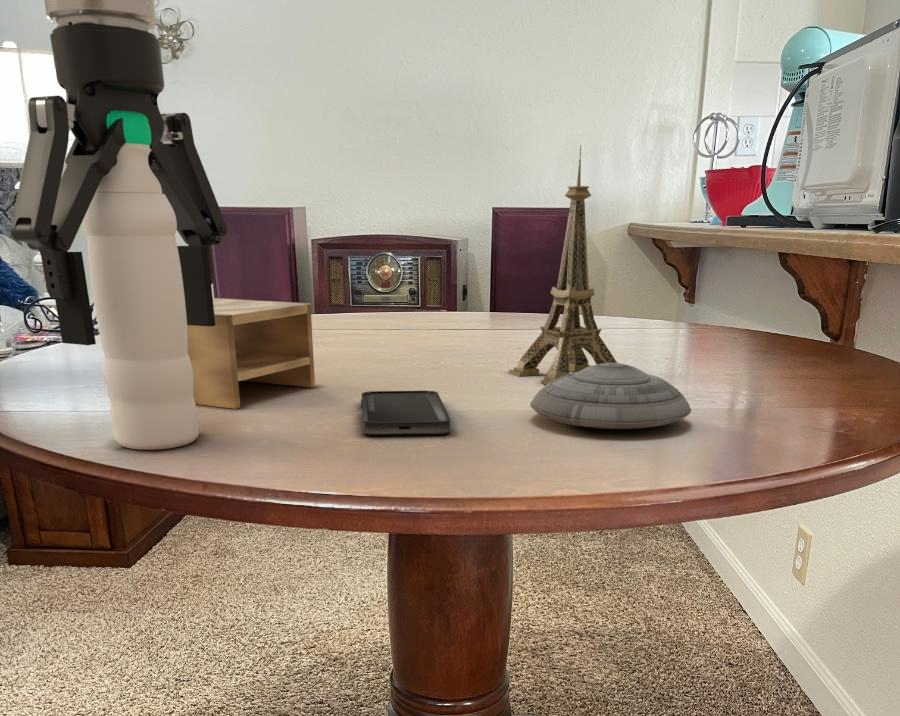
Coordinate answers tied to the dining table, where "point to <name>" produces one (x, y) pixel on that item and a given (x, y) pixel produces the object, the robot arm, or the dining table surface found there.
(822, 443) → the dining table surface
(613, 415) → the flying saucer
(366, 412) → the phone
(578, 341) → the eiffel tower
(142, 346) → the water bottle
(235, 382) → the rack
